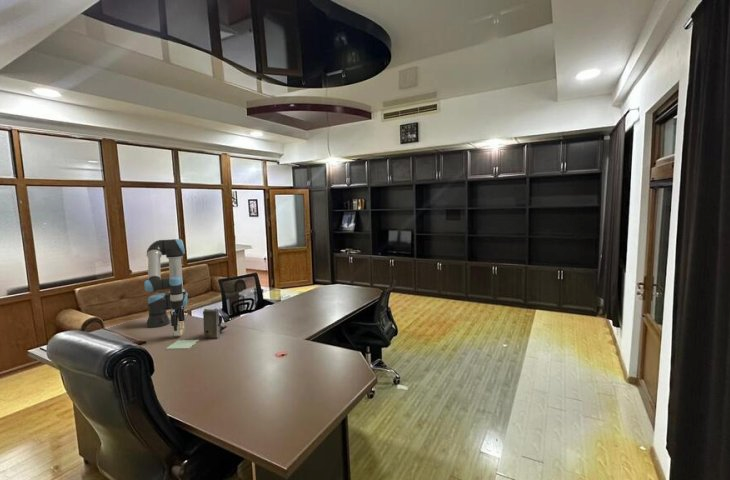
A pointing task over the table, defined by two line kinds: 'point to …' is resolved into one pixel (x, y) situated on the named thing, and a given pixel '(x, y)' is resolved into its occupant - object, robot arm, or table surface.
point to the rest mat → (182, 344)
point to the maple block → (180, 327)
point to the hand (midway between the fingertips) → (178, 333)
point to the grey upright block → (212, 323)
